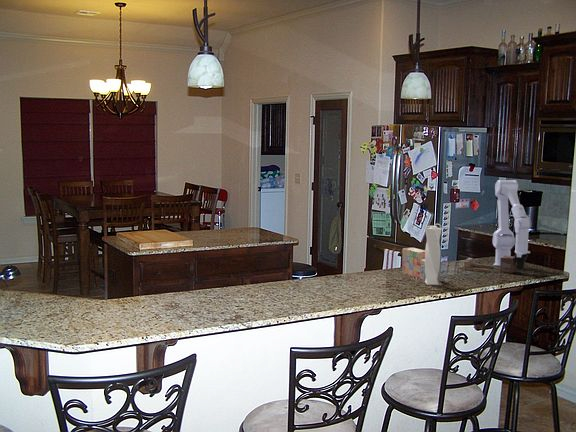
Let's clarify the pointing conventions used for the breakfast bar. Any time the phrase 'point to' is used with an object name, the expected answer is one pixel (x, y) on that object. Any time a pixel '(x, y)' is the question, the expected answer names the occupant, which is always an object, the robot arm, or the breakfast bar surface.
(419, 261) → the stack of blocks
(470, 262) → the cradle
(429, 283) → the skyscraper
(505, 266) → the box
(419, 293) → the breakfast bar surface
